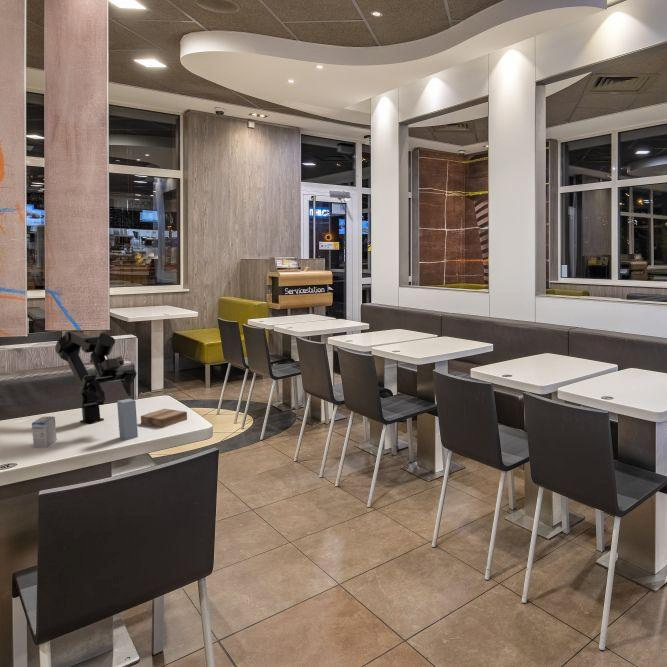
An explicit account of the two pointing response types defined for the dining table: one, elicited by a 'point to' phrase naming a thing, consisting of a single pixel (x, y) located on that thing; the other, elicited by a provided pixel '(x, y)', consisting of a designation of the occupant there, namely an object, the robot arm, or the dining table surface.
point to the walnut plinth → (164, 417)
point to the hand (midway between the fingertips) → (117, 397)
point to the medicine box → (44, 432)
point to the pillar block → (127, 419)
